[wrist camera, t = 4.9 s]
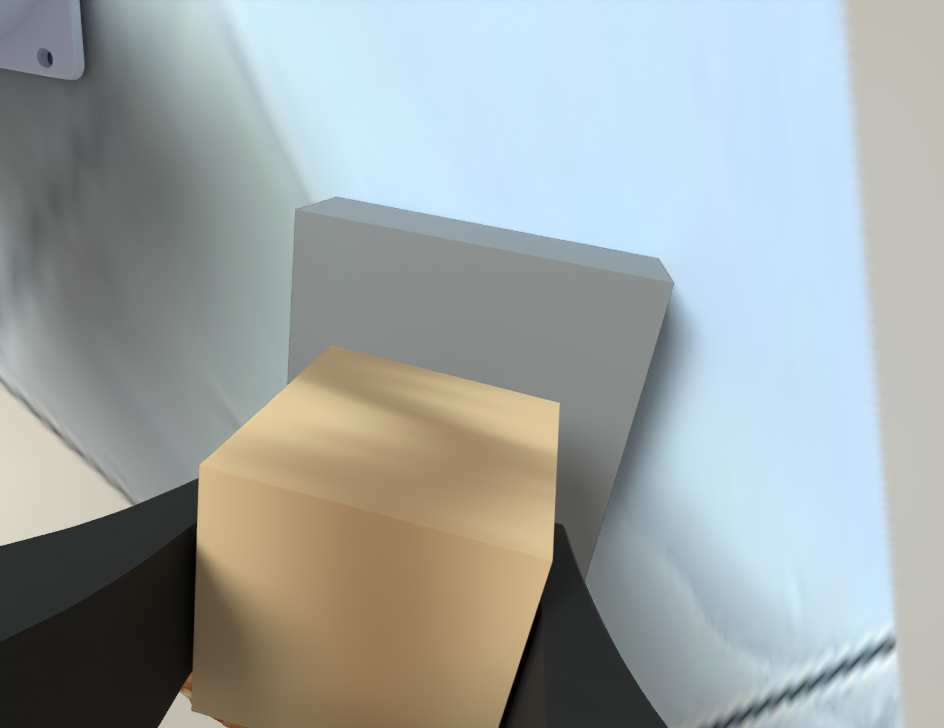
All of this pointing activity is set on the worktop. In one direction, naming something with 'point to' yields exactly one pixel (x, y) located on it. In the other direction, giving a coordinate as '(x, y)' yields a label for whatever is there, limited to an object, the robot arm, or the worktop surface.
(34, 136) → the worktop surface
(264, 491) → the oak block
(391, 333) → the gray block
